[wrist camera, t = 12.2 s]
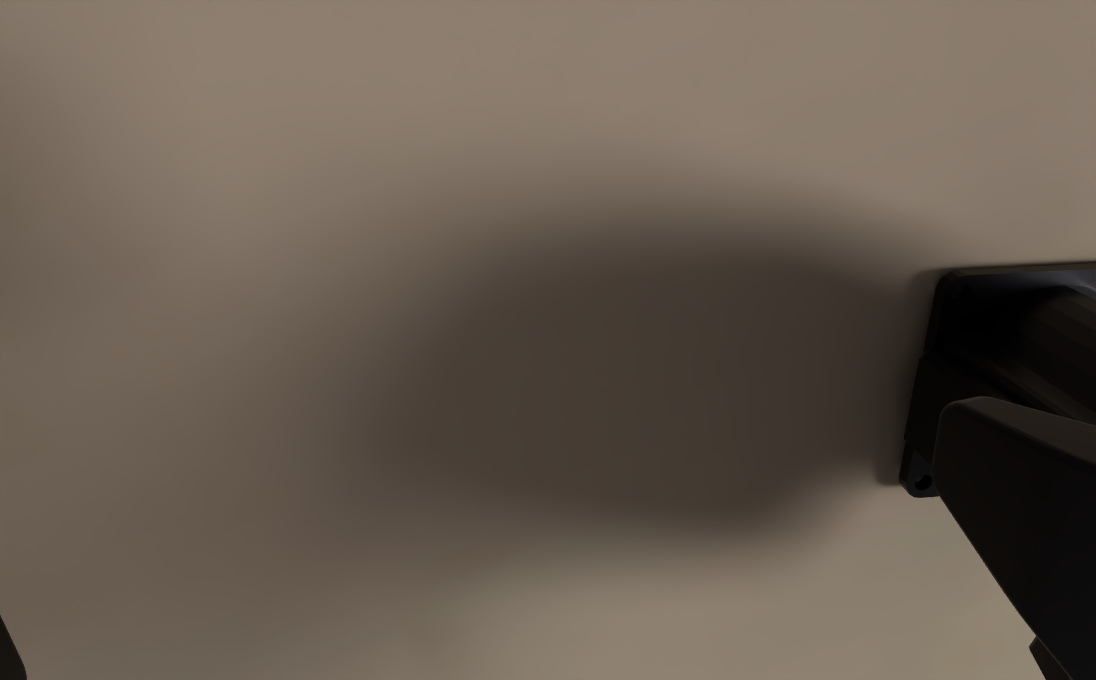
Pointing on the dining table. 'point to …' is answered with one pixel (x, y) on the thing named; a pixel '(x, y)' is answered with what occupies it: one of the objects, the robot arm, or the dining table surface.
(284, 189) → the dining table surface
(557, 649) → the dining table surface
